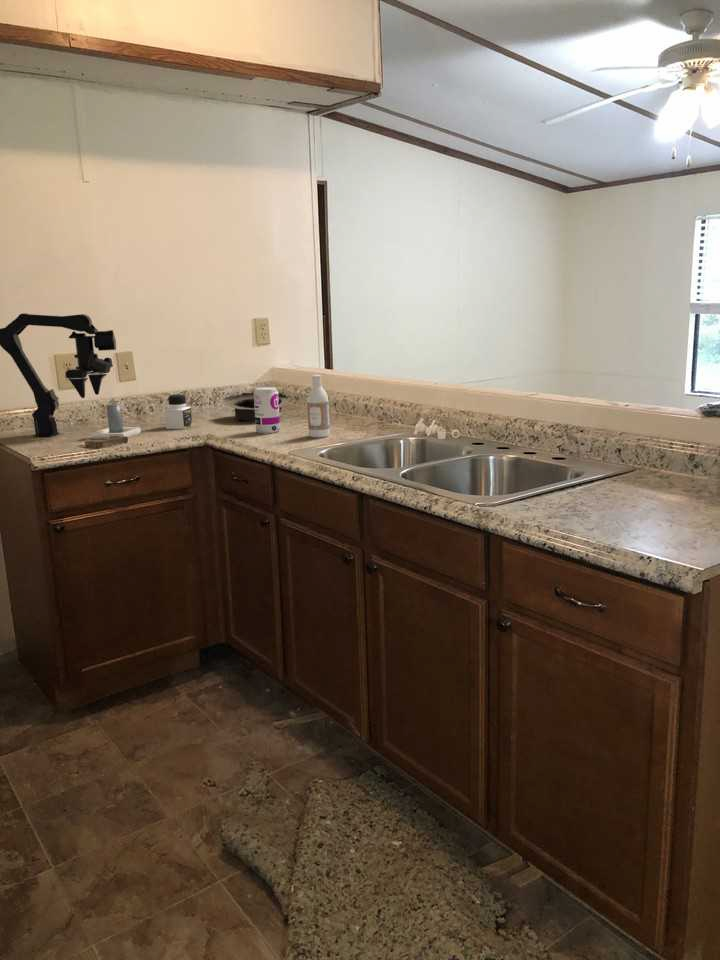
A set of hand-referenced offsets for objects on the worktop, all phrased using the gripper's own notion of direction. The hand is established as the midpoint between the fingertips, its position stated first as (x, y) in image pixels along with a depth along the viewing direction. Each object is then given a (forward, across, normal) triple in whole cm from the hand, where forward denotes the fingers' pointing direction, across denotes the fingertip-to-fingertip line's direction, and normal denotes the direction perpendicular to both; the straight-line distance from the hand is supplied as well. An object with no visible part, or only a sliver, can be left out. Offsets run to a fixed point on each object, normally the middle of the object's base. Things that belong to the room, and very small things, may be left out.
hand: (90, 396), depth 273 cm
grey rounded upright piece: (+12, -6, -12) cm, 18 cm away
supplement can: (+13, +5, -63) cm, 65 cm away
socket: (+13, -21, -16) cm, 30 cm away
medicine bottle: (+13, +12, -27) cm, 32 cm away
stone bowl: (+13, +33, -50) cm, 61 cm away
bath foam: (+13, -2, -83) cm, 84 cm away
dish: (+13, -6, -12) cm, 19 cm away
